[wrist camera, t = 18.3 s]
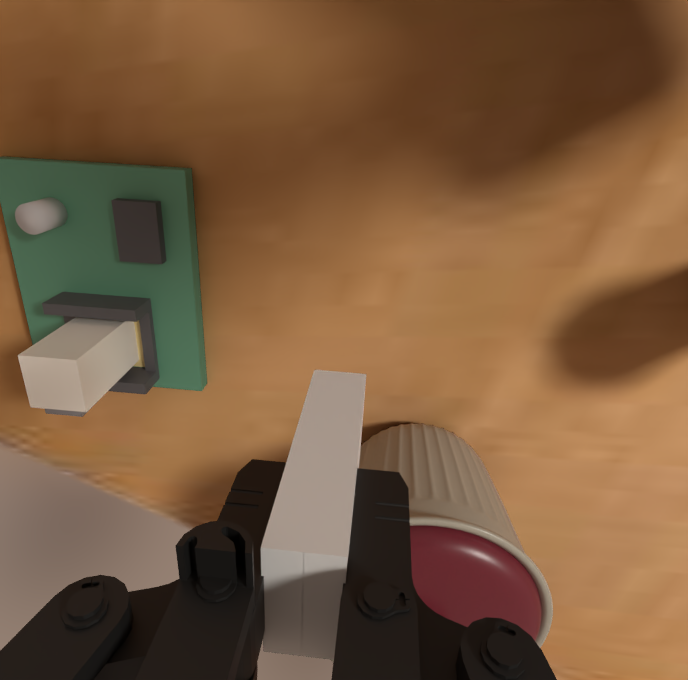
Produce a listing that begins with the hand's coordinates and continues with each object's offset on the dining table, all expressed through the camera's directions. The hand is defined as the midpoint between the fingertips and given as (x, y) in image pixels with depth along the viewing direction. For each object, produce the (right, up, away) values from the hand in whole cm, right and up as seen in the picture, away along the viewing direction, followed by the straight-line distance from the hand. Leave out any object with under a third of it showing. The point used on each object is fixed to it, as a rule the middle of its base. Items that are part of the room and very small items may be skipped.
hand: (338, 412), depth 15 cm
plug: (-21, +2, +32) cm, 38 cm away
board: (-21, +8, +31) cm, 38 cm away
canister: (+7, -11, +37) cm, 39 cm away
